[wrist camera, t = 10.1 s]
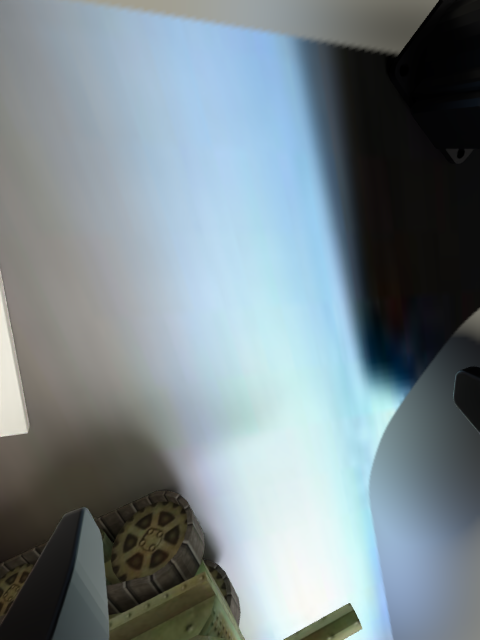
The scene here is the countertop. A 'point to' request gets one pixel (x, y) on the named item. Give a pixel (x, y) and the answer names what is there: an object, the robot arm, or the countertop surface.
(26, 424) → the board
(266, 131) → the countertop surface
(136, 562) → the toy
